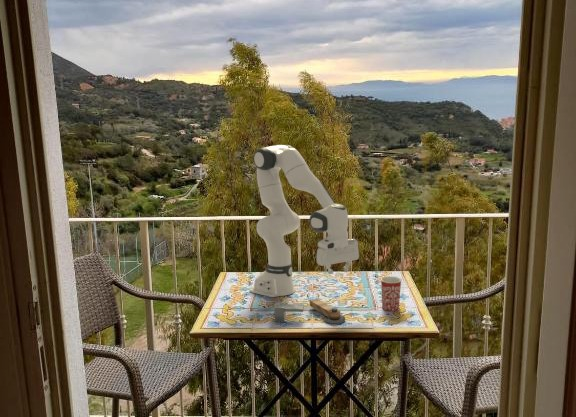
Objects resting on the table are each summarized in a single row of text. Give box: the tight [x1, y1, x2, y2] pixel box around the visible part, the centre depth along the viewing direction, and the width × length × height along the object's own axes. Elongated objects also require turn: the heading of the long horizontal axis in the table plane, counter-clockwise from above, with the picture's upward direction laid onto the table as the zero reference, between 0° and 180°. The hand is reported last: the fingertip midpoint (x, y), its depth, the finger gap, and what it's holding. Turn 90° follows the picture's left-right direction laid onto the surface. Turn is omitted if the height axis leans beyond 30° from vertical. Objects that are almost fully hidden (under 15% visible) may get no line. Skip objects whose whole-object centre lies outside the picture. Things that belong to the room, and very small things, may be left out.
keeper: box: [273, 301, 305, 323], centre depth 225 cm, size 12×7×6 cm, turn 84°
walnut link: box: [309, 298, 341, 320], centre depth 230 cm, size 20×5×4 cm, turn 29°
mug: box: [380, 276, 403, 312], centre depth 236 cm, size 13×9×14 cm
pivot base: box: [323, 314, 346, 325], centre depth 224 cm, size 9×9×1 cm
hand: (338, 272), depth 232 cm, fingers open, 7 cm apart
